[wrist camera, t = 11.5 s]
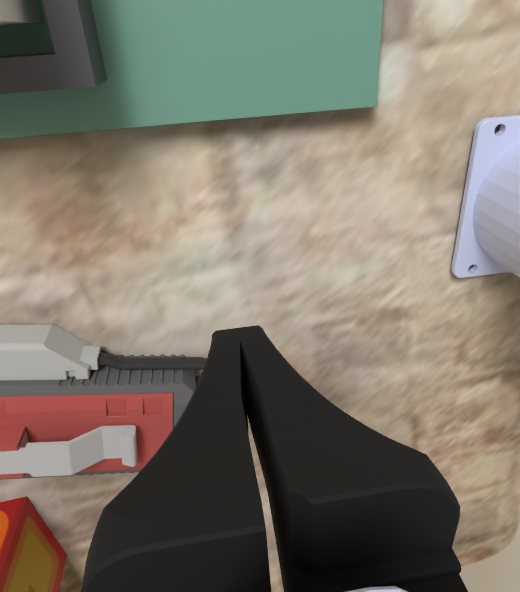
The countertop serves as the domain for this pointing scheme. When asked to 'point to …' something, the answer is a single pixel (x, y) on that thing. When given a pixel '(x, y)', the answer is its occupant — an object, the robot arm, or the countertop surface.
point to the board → (184, 62)
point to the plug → (19, 12)
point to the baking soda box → (28, 550)
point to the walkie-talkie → (84, 404)
